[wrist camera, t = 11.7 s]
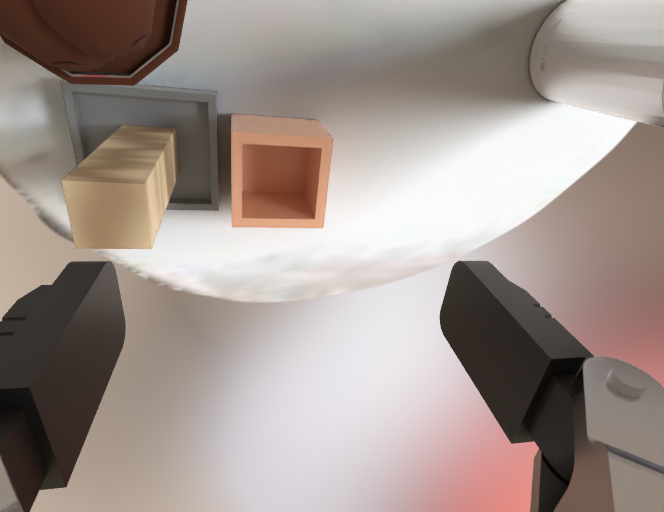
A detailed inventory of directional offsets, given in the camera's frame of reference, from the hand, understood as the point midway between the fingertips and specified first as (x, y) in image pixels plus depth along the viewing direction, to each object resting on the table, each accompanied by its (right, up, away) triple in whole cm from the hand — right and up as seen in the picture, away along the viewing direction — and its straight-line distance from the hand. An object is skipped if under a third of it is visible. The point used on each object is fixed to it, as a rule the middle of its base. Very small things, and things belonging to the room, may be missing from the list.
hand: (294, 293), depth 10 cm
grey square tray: (-15, +10, +25) cm, 31 cm away
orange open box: (-5, +10, +28) cm, 30 cm away
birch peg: (-14, +10, +24) cm, 30 cm away
